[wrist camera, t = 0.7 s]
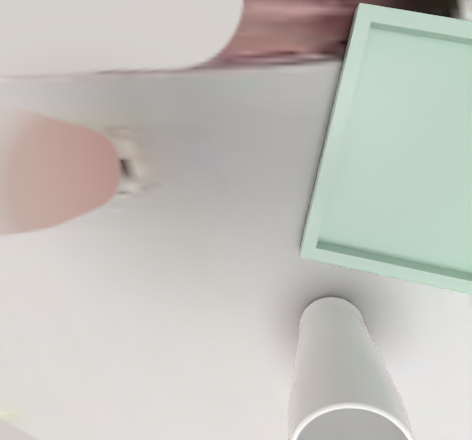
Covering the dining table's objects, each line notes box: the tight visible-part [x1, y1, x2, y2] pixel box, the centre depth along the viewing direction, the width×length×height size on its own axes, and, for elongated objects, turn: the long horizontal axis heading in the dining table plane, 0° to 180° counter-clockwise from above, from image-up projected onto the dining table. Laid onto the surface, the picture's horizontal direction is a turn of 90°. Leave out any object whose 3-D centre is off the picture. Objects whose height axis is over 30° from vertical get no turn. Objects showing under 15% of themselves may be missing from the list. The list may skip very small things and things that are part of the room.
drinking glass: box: [288, 297, 414, 440], centre depth 30 cm, size 7×7×15 cm
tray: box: [300, 3, 472, 295], centre depth 32 cm, size 18×15×2 cm
